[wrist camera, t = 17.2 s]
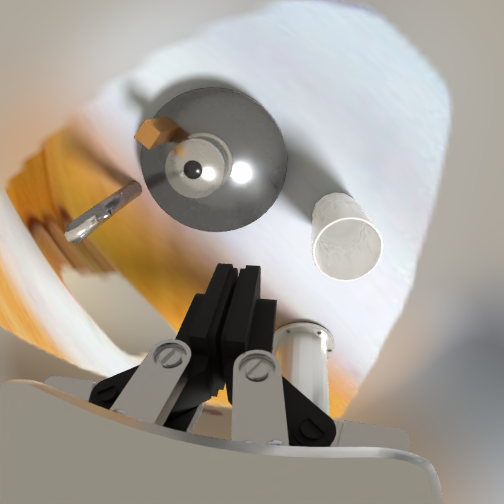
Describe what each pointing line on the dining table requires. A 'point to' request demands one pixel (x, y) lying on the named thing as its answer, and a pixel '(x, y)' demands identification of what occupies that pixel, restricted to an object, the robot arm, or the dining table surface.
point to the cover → (199, 165)
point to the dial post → (101, 212)
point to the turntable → (241, 145)
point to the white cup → (344, 238)
